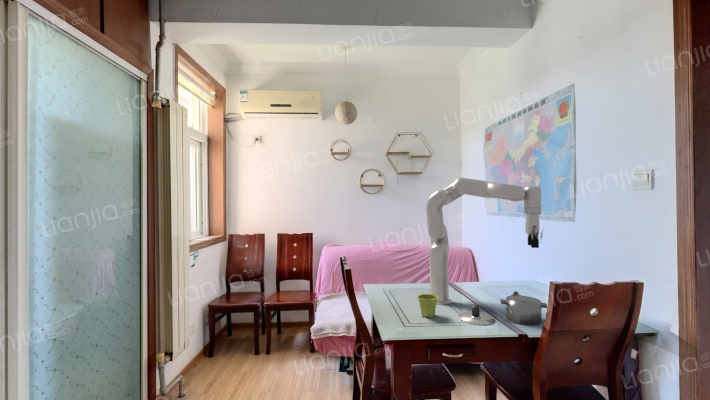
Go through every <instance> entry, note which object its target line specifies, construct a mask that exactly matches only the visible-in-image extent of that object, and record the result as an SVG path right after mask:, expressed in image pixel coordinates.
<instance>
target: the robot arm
mask: <svg viewBox="0 0 710 400" xmlns="http://www.w3.org/2000/svg"><path fill="white" fill-rule="evenodd" d="M464 195H467V196H473V197H479V198H485V199H501V200H506V201H511V202H520V201H523V214H524V215H525V230H524V232H525V234H526V235H527V246H530V247H531V248H532V249H533V248H534V249H539V248H540V245H539V244H540V243H539V242H540V240H539V239H540V238H539V235H540V216H541V215H542V188H541V187H540V186H537V185H535V186H532V185H531V186H525V187H522V186H520V185H517V184H515V185H514V184H507V183H501V182H495V181H489V180H480V179H475V178H469V177H458V178H456V179H455V180H454V182H453V183H451V184H450V185H448V186H447V187H445V188H443V189H438V190H437V191H435V192H433V193H432V194H431V195H430V196H429V197H428V200H427V201H426V208H425V210H426V211H425V212H426V222H427V223H426V225H427V233H428V236H429V237H430V244H431V246H430V248H429V252H428V254H429V255H428V258H429V279H430V280H429V282H430V283H429V286H430V287H429V288H430V289H429V290H430V291H429V292H422V293H421V295H422V294H431V295H435V296H437V297H438V299H437V302H436V305H441V306H443V305H444V306H445V305H450V304H452V302H453V301H452V299H451V298H449V297H450V296H449V290H450V289H449V288H450V286H449V285H450V284H449V252H450V245H449V237H448V229H447V226H446V225H445V222H444V213H443V207H444V206H447V205H449V204H451V203H453V202H454V201H455V200H458V199H460V198H461V197H462V196H464Z"/></svg>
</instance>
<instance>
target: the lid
mask: <svg viewBox="0 0 710 400" xmlns="http://www.w3.org/2000/svg"><path fill="white" fill-rule="evenodd" d="M457 317H458V319H459V320H460V321H461V322H463V323H464V324H465V323H466V324H469V325H474V326H488V325H491V324H493V323H494V322H495V319H494V317H493V315H489V314H487V313H484V312H480V305H478V304H472V305H471V311H463V312H461V313H459V314H458V315H457Z"/></svg>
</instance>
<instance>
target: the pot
mask: <svg viewBox="0 0 710 400" xmlns="http://www.w3.org/2000/svg"><path fill="white" fill-rule="evenodd" d="M511 295H512V296H511ZM511 295H508V296H506V297H505V299H502V298H501V299H500V304H501V305H505V310H506V311H505V312H506V313H505V318H506V320H507V321H509V322H510V323H512V324H516V325H520V326H526V327H527V326H529V327H535V325H536V326H539V325H542V323H543V321H542V319H543V318H542V314H543V313H542V309H548V308H547V305H548V304H547V303H546V302H542V300H541V299H540V298H539V299H538V298H535V297H534V296H533V297H532V296H528V295H521V294H520V295H521V296H520V295H513V294H511Z"/></svg>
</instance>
